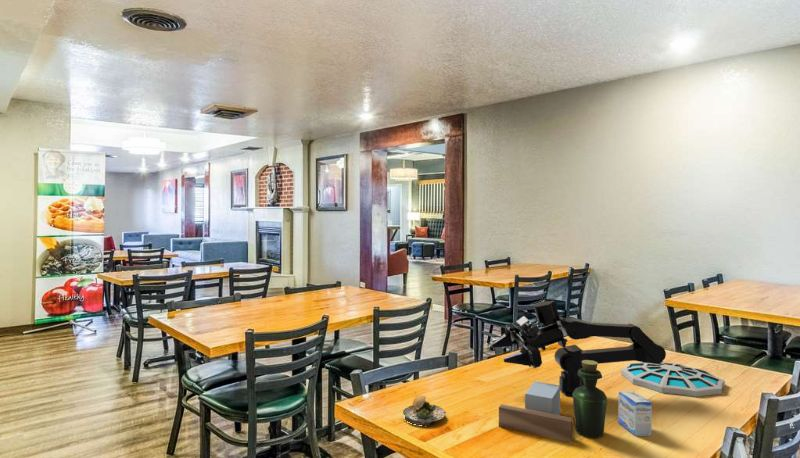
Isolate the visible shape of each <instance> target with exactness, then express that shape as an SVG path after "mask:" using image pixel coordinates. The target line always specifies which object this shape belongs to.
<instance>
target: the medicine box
mask: <svg viewBox="0 0 800 458" xmlns="http://www.w3.org/2000/svg"><path fill="white" fill-rule="evenodd" d="M652 404H653V403H652V402H651V401H650V400H648V399H647V398H645V397H643V396H641V395H640V394H638V393H636V392H635V391H632V390H623V391H622V390H621V391H618V411H617V412H618V414H617V415H618V416H617V423H618V424H619V425H620V426H621V427H623V428H624V429H625V430H627V431H628V432H630V433H631V434H632V435H633V436H634V437H651V436H652V431H653V430H652V427H653V426H652V425H653V423H652V422H653V419H652V418H653V414H652V413H653V410H652V409H653V407H652V406H653V405H652Z"/></svg>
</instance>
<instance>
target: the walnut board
mask: <svg viewBox="0 0 800 458" xmlns="http://www.w3.org/2000/svg"><path fill="white" fill-rule="evenodd" d="M573 421H574V419H573V417H568V416H564V415H560V414H559V415H555V414H550V413H544V412H539V411H534V410H529V409H525V407H518V406H512V405H508V404H500V405H499V407H498V427H499V428H504V429H505V428H506V429H509V430H515V431H518V432H522V433H523V432H524V433H527V434H531V435H537V436H542V437H546V438H550V439H555V440H560V441H563V442H569V443H571V442H572V440H573V432H574V430H573Z"/></svg>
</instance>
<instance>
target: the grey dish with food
mask: <svg viewBox="0 0 800 458" xmlns="http://www.w3.org/2000/svg"><path fill="white" fill-rule="evenodd" d="M414 393H415V396H416V397H415V398H414V399H413V401H412V405H409V406H407V407H406V408H404V409H403V410H402V411H403V412H402V414H403V415H405V420H406V421H408V422H410V423H412V424H416V425H422V426H429V427H430V425H431V423H435V422H439V421H440V420H442V419H444V417H446V414H447V413H446V411H445V410H444V409H443V408H442V407H441V406H438V405H435V404H430V402H429V401H427V400H426V398H427V397H426V396H425V395H418V396H417V393H416V392H414Z"/></svg>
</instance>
